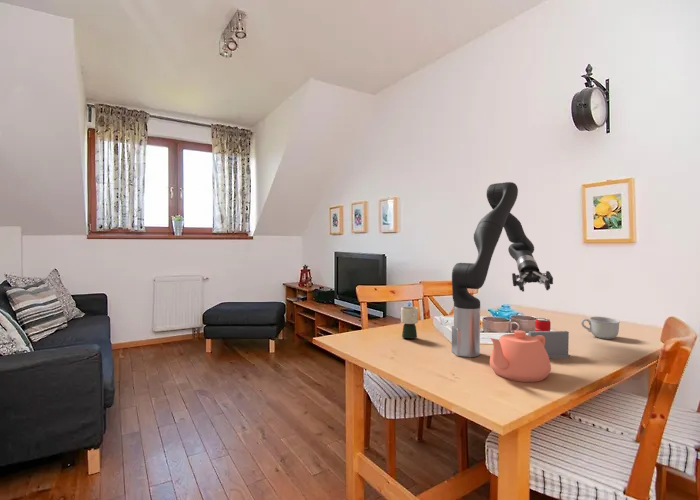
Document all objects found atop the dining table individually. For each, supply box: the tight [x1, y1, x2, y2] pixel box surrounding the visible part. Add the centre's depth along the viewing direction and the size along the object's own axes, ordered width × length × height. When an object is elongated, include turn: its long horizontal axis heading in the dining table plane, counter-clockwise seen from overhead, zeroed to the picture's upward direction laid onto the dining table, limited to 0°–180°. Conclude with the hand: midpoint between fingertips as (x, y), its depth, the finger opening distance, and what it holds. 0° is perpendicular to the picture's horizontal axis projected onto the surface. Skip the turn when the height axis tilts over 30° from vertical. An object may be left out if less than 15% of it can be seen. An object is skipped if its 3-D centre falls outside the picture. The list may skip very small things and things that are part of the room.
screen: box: [527, 330, 571, 359], centre depth 135 cm, size 14×4×9 cm, turn 94°
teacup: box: [580, 316, 621, 340], centre depth 163 cm, size 14×11×8 cm
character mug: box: [400, 306, 419, 340], centre depth 160 cm, size 11×7×13 cm, turn 14°
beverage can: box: [534, 317, 552, 331], centre depth 142 cm, size 5×5×12 cm
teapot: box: [489, 329, 552, 383], centre depth 117 cm, size 25×17×13 cm
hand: (535, 289), depth 143 cm, fingers open, 8 cm apart
